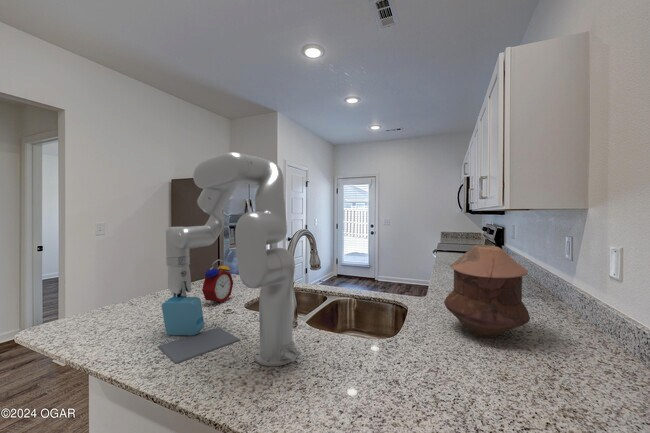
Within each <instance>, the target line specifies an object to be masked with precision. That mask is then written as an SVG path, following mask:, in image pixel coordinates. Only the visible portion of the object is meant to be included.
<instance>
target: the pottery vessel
mask: <svg viewBox="0 0 650 433" xmlns="http://www.w3.org/2000/svg"><path fill="white" fill-rule="evenodd" d="M449 267H450V268H451V269H452V270H453V290H452V291H451V292H450V293H448V295H447V296H446V297H445V299H444V302H443V303H444V306H445V308H446V309H447V311H449V312H450V313H451V314H452V315H453V316H454V317H455V318H457V320H458V321H459V322H460V323H461V324H463V325H464V327H465V328H466V329H467V331H468V332H469V333H471V334H473V335H475V336H478V337H483V338H495V337H497V336H499V334H502V333H504V332H507V331H510V330H513V329H516V328H519V327H521V326H522V327H523V326H524V325H527V324H528V323H529V322H530V318H531V316H530V313H529V311H528V309H527V306H526V305H525V304H524V302H523V301H522V299H523V277H525V276H526V275H527V274H528V269H527V268H525V267H523V266H522V265H521V264H519V263H518V262H517V261H516V260H514V259H513V258H512V257H511V256H510V255H509V254H508V253H507V252H506V251H504V250H503V248H501V247H499V246H497V245H487V244H475V245H473V246H472V247H471V248H469V249H468V250H467V251H466V252H465V253H464V254H463V255H462V256H460V257H459V258H458V259H457V260H456V261H454V262H453V263H451V264H450V265H449Z"/></svg>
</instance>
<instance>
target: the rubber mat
mask: <svg viewBox="0 0 650 433" xmlns="http://www.w3.org/2000/svg"><path fill="white" fill-rule="evenodd" d="M240 341H241V339H240V338H239V337H237V336H235V335H234V334H232V333H230V332H228V331H226V330H225V329H224V328H221V327H220V326H217V327H214V328H211V329H207V330H204V331H200V332H198V333H197V334H196V335H187V336H185V337H182V338H178V339H175V340H172V341H169V342H165V343H162V344H159V345H157V348H158V349H159V350H160V351H161V352H162V353H164V355H165V356H167V357H168V358H169V360H171V361H172V363H174V365H177V364H180V363H183V362H185V361H188V360H190V359H194V358H196V357H199V356H202V355H204V354H207V353H209V352H213V351H215V350H219V349H220V348H223V346H224V347H226V346H229V345H231V344H234V343H237V342H240Z"/></svg>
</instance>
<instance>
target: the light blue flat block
mask: <svg viewBox="0 0 650 433" xmlns="http://www.w3.org/2000/svg"><path fill="white" fill-rule="evenodd" d="M202 307H203V306H202V300H201V298H200V297H198V296H186V297H183V298H182V297H173V296H172V297H170V298H168V299H167V300H165V301H164V302H162V304H161V310H162V311H161V312H162V316H163V324H164V330H165V333H166V334H167V335H169V336H191V335H196V334H197V333H200V332H201V331H202V330H203V328H205V322H204V315H203V312H204V311H203V308H202Z"/></svg>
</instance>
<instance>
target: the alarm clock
mask: <svg viewBox="0 0 650 433" xmlns="http://www.w3.org/2000/svg"><path fill="white" fill-rule="evenodd" d="M218 261H219V262H222V265H218V267H217V268H215V267H214V264H215V263H216V262H218ZM204 277H205V278H204V280H203V281H202V283H203V284H202V289H201V291H202V294H203V296H204V300H205V301H208V302H209V301H210V306H213V305H214V303H225V302H226V301H227V300H228V299H229V297H230V296H231V295H232V292H233V286H234V280H233V277H232V273H231V269H230V266H226V263H225V264H224V260H223V259H217V260H215V261H214V262H212V267H211V268H209V269H207V270H206V272H205V275H204Z"/></svg>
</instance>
